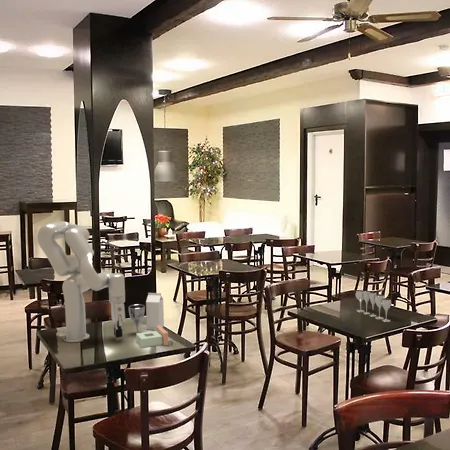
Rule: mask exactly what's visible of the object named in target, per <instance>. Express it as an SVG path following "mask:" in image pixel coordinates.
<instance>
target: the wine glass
mask: <svg viewBox="0 0 450 450" xmlns="http://www.w3.org/2000/svg"><path fill="white" fill-rule="evenodd" d="M145 311H146V305H144V304H140V303H139V304H138V303H137V304H131V305H129V306H128V313H129V317H130V319H131V320H132V322H133V323H135V326H136V328H135V329H136V333H139V326H140V323H141V321H142V320H143V319H144V317H145Z"/></svg>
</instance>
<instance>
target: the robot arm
mask: <svg viewBox="0 0 450 450" xmlns="http://www.w3.org/2000/svg"><path fill="white" fill-rule="evenodd" d="M58 239H64V240H65V242H66V244H67V246H68V247H69V249H70V250H71V252H72V253H73V254H67V253H66V252H65V250H64V248H63V247H62V246H61V244H59V243H58V242H57V241H56V240H58ZM89 239H90V232H89V230H88V229H87V228H86V227H84V226H82V225H78V224H75V223H72V222H68V221H63V220H61V221H54V222H49V223H45V224H43V225H42V226H41V227H40V228H39V229H38V231H37V237H36V240H37V243H38V246H39V247H40V248H41V251H42V253H44V254H45V256H46V258H47V260H48V261H49V263H50V265H51V267H52V268H53V270H54V272H55V274H57V276H59V277H67V276H70V277H67V278H66V279H65V280H64V281H63V283H62V287H61V288H62V293H63V299H64V309H65V312H64V313H65V329H64V331H62V332H60V331H59V332H56V338H58V337H59V338H63V341H64V342H66V343H80V342H84V340H88V339H90V334H89V333H87V324H86V323H87V322H86V321H87V320H86V317H87V316H86V301H85V298H84V296H83V293H85V292H88V291H89V290H93V291H95V292H97V291H101V290H103V289H105V288H108V302H109V303H110V304H111V307H110V308H111V309H110V310H111V312H110V313H111V320H112V321H113V335H114V336H115V331H116V338H118V337H121V338H122V337H123V324H125V323H126V311H125V304H124V303H125V302H126V289H125V287H126V286H125V285H126V284H125V275H124V274H123V273H119V272H117V273H112V272H109V271H108V272H107V271H103V272H100V273H97V272H96V270H95V268H94V266H93V258H94V257H93V256H94V254H95V250H94V249H93V247H92V246H91V245H90V243H89V242H88V241H89ZM117 322H119V323H117ZM115 323H116V329H115ZM117 324H119V325H118V326H117ZM116 338H115V339H116Z"/></svg>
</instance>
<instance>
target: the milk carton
mask: <svg viewBox="0 0 450 450" xmlns="http://www.w3.org/2000/svg"><path fill="white" fill-rule="evenodd" d="M147 294H148V295H147V297H146V301H145V311H146V314H145V315H146V330H151V331H156V326H161V327H162V328H163V329H164V327H165V321H164V320H165V319H164V315H165V313H164V298H163V296H162V292H161V293H160V292H159V293H158V292H147Z"/></svg>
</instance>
